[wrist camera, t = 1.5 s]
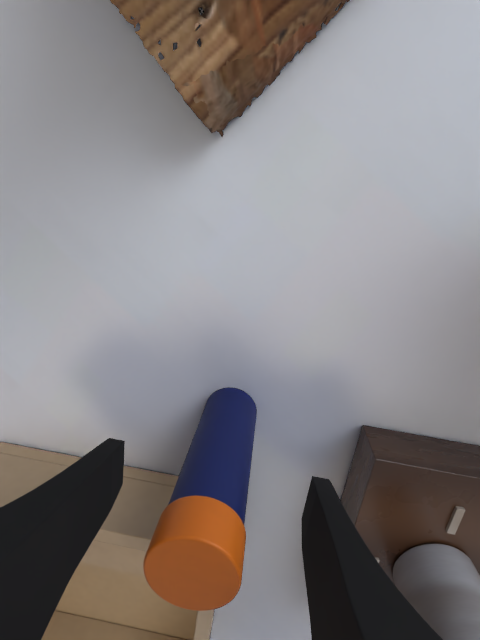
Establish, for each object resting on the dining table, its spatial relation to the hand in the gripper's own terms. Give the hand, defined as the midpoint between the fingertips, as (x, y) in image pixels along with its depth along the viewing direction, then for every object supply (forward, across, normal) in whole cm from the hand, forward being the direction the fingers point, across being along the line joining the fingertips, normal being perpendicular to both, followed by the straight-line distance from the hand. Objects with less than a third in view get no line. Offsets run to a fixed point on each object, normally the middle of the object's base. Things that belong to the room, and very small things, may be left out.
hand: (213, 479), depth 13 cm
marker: (+5, 0, 0) cm, 5 cm away
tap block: (+5, -10, +5) cm, 13 cm away
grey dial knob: (+2, -10, +5) cm, 12 cm away
